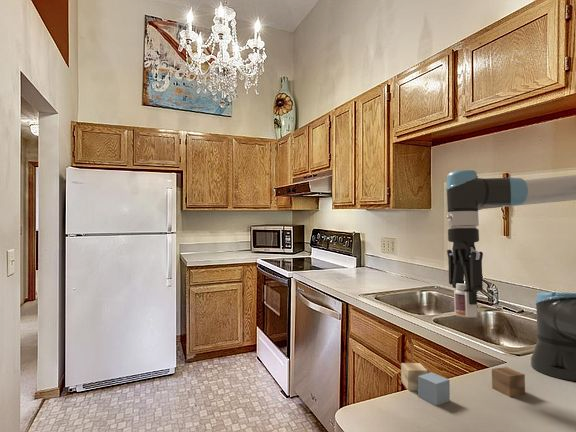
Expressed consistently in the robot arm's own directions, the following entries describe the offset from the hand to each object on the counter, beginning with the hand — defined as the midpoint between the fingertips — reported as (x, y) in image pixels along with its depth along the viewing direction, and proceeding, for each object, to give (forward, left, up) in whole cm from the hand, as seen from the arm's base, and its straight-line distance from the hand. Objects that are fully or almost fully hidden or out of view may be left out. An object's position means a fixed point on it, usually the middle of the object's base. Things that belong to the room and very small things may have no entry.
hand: (465, 314), depth 92 cm
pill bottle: (0, 0, -1) cm, 1 cm away
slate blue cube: (+13, +8, -18) cm, 24 cm away
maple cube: (+15, +1, -18) cm, 24 cm away
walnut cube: (-8, +4, -18) cm, 21 cm away
